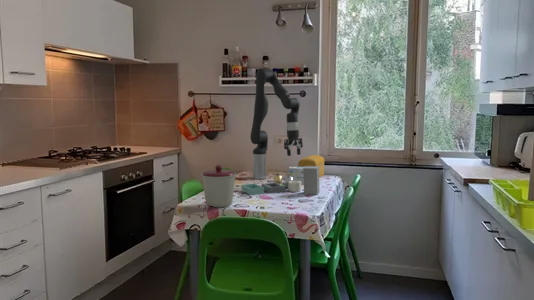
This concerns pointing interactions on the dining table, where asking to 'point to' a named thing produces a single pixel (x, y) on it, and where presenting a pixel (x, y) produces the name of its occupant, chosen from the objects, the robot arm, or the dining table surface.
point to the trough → (252, 189)
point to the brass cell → (278, 179)
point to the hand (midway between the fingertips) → (294, 155)
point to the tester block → (273, 187)
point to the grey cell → (287, 181)
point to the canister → (218, 186)
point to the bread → (313, 163)
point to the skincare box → (311, 180)
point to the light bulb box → (296, 174)
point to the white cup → (294, 186)
